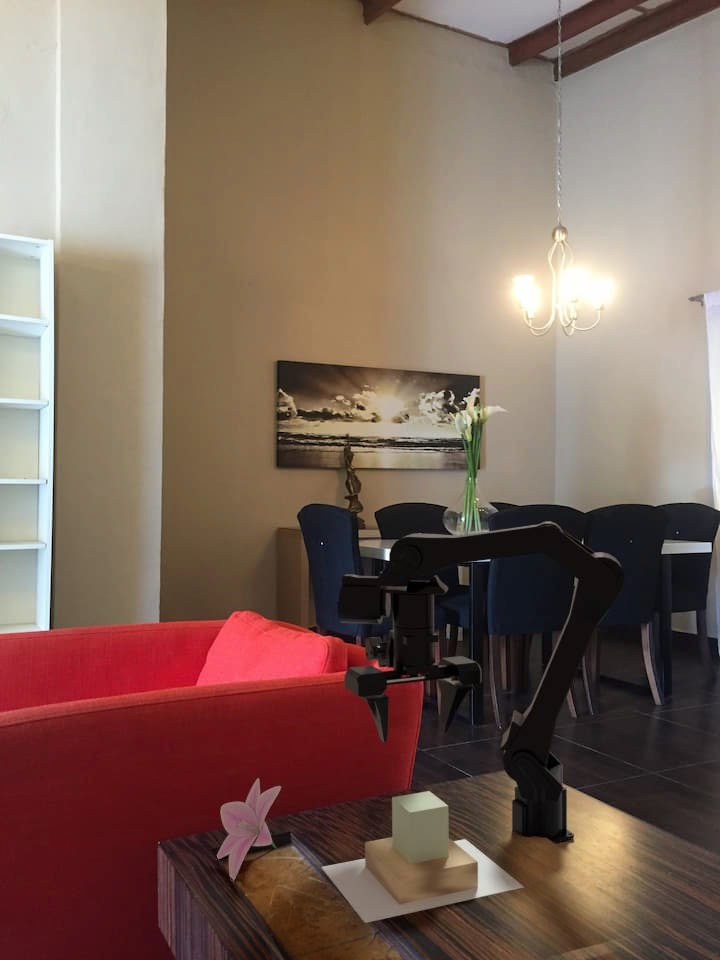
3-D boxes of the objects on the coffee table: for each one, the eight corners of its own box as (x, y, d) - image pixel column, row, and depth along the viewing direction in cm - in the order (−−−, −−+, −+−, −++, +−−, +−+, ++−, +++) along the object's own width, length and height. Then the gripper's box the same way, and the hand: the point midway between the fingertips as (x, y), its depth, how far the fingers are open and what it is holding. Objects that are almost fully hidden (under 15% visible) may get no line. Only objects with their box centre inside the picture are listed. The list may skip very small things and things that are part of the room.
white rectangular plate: (465, 845, 114) (465, 839, 114) (524, 893, 101) (524, 886, 101) (321, 873, 107) (321, 866, 107) (365, 929, 94) (365, 922, 94)
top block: (429, 839, 107) (429, 791, 107) (448, 856, 102) (448, 805, 102) (392, 846, 105) (392, 797, 105) (410, 864, 101) (409, 812, 101)
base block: (438, 852, 110) (438, 828, 110) (477, 887, 101) (477, 861, 101) (365, 866, 107) (365, 842, 107) (399, 904, 97) (399, 877, 97)
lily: (226, 844, 118) (195, 792, 114) (306, 809, 118) (277, 756, 114) (227, 914, 106) (193, 859, 103) (316, 875, 107) (284, 819, 103)
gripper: (446, 611, 132) (446, 714, 132) (330, 620, 125) (331, 729, 125) (483, 623, 121) (484, 735, 122) (359, 634, 114) (360, 753, 115)
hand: (414, 737), depth 121 cm, fingers open, 9 cm apart
